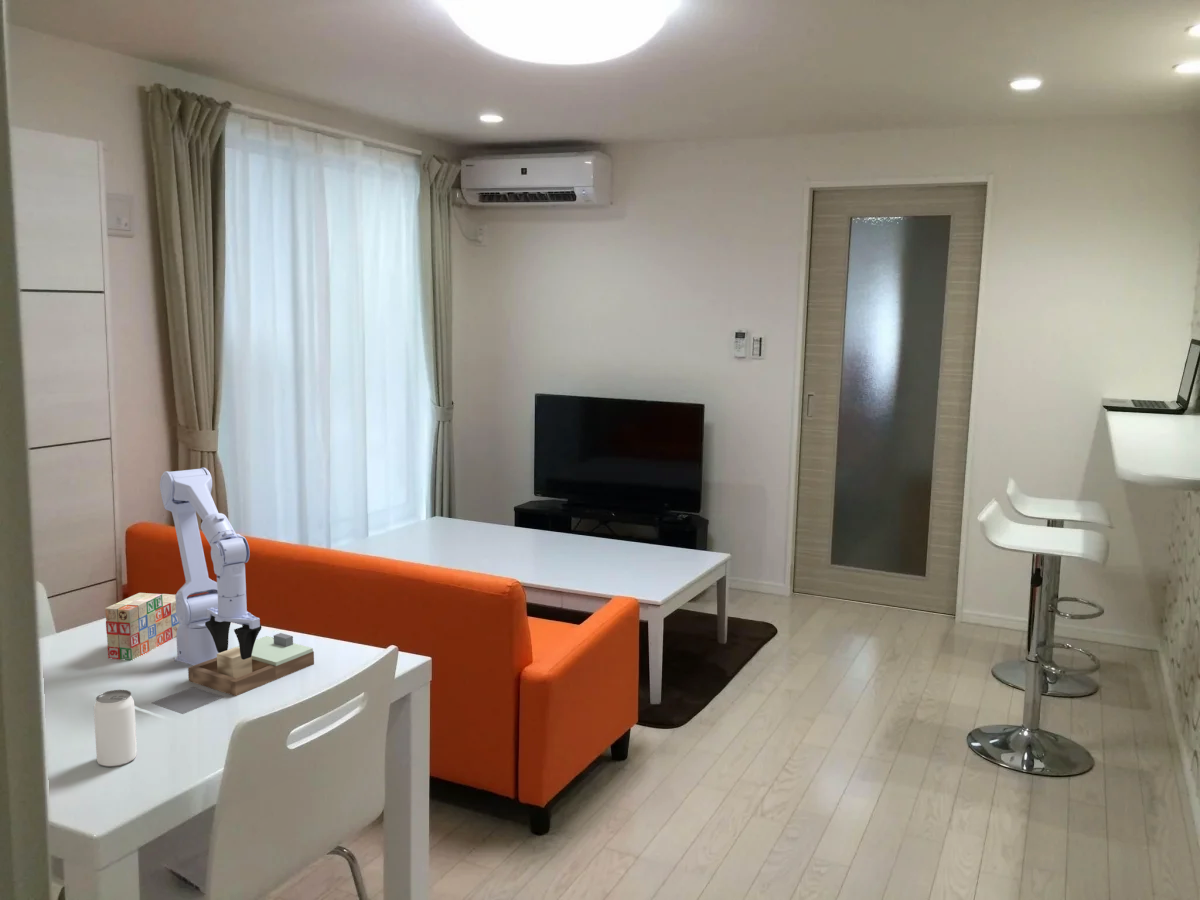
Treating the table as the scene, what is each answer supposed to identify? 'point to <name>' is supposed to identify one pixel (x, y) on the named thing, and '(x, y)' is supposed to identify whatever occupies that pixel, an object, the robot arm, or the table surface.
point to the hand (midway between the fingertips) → (234, 654)
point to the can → (115, 728)
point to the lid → (277, 649)
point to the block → (233, 663)
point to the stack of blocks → (140, 624)
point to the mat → (187, 700)
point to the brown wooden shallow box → (259, 676)
